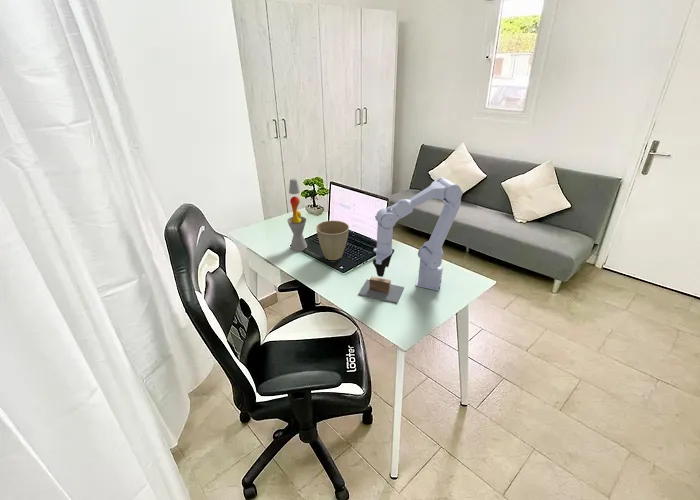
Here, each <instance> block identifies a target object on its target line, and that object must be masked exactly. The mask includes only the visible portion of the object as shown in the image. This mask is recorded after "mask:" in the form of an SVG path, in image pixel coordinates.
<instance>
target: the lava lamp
mask: <svg viewBox="0 0 700 500" xmlns="http://www.w3.org/2000/svg"><path fill="white" fill-rule="evenodd" d="M288 190H289V194H290V195H297V194H300V193H301V191H300V187H299V183H298V179H297V178H290V180H289V189H288ZM289 202H290V205H291V209H292V210H291V211H292V217H289V218H287V223H288V226H289V228H290V230H291V233H292V234H293V235H292V240H291V244H290V248H289V249H290V251H291V252H294V253H295V252H298V253H300V252H303V251H302V250H304V249H305V248H307V246H308V243H307V242H306V239H305V237H304V235H303V232H304V229H305V226H306V222H307V218H306V217H304V216H302V213H301V211H299V210H298V207H299V205H300V204H301V203H300V202H301V200H300V198H299V197H298V196H293V197H290V200H289ZM307 249H308V248H307Z"/></svg>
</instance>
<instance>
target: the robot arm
mask: <svg viewBox="0 0 700 500" xmlns="http://www.w3.org/2000/svg"><path fill="white" fill-rule="evenodd" d="M463 194H464V193H463V190H462V188H461V186H460V185H458V184H457V183H454V182H452V180H449V179H448V178H447V177H444V176H443V177H439V178H438V179H436V180H434V181H432V182H431V184H430V185H429V186H427V187H426V188H424V189H423V190H421V191H420V192H419V193H417V194H415V195H414V196H412V197H411V198H409V199H408V198H403V199H401V198H400V199H398V202H396V203H394V204H393V205H391V206H387V207H386V208H381V209H379V210H378V211H377V212H376V215H375V216H374V217H375V220H376V221H377V230H376V231H377V232H376V247H374V248H373V252H374V253H375V254H376V258H373V260H372V264H373V266H374V268H375V271H376V275H377V277H379V278H383V277H384V276H385V271H386V268H389V266H390V263H391V259H392V256H393V254H394V253H395V249H394V248H393V233H394V226H395V225H396V224H397V222H399V221H400V220H401V219H403V218H404V217H407V216H408V215H410V214H411V213H412V212H413V210H414V208H416V207H418V206H420V205H422V204H424V203H426V202H428V201H430V200H433V199H435V200H441V201H442V202H443V208H442V209H441V213H440V215H439V217H438V220H437V221H436V224H435V226H434V228H433V231H432V232H431V235H430V238H429V240H428V241H424V242H423V244H422V245H421V247H420V248H419V249H418V252H417V257H418V258H419V268H418V276H417V278H416V279H417V280H416V282H415V287H420V288H424V289H429V290H433V291H439V290H440V286H441V284H442V280H443V279H442V277H443V269H444V267H443V265H442V263H443V256H444V251H443V245H444V243H445V240H446V238H447V236H448V234H449V232H450V230H451V227H452V225H453V223H454V221H455V219H456V216H457V214H458V212H459V210H460V207H461V206H462V205H461V204H462V196H463ZM441 265H442V266H441Z"/></svg>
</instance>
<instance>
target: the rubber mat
mask: <svg viewBox="0 0 700 500" xmlns="http://www.w3.org/2000/svg"><path fill="white" fill-rule="evenodd" d="M369 285H370V279H366V280H365V282H364V284H363V286H361V288H360V290H359V292H358V296H362V297H367V298H370V299H373V300H378V301H379V300H380V301H383V302H388V303H394V304H398V303H399V301H400V299H401V296H402V294H403V291H404V289H405V287H404V286H401V285H397V284H396V285H395V284H392V283H391V284H390V292H389V294H387V293H383V292H378V291H373V290H369Z"/></svg>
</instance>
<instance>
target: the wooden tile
mask: <svg viewBox="0 0 700 500" xmlns="http://www.w3.org/2000/svg"><path fill="white" fill-rule="evenodd" d="M369 280H370V285H369V290H373V291H378V292H383V293H387V294H389V292H390V284H392V283H391V279H388V278H383V277H379V276H373V275H372V276H370V278H369Z"/></svg>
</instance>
